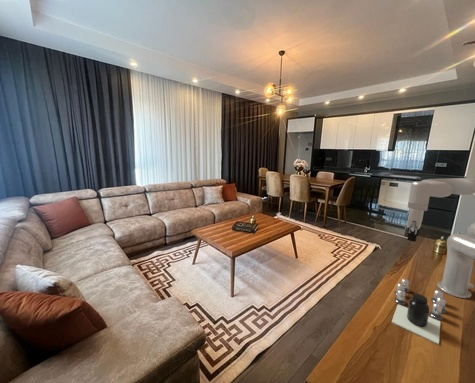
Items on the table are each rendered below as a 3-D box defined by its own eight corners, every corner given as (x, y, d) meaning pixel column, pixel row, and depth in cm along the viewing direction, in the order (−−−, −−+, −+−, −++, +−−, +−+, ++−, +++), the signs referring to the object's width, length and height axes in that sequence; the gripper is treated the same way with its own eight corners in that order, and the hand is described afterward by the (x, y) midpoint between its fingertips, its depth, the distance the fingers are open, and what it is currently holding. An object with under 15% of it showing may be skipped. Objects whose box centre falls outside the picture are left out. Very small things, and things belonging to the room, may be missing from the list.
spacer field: (397, 285, 115) (398, 275, 114) (446, 303, 101) (448, 292, 100) (391, 300, 103) (392, 290, 102) (445, 323, 89) (447, 311, 88)
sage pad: (397, 305, 100) (397, 304, 100) (440, 322, 90) (440, 321, 89) (391, 322, 90) (391, 321, 90) (438, 344, 79) (438, 343, 79)
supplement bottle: (421, 317, 92) (425, 293, 90) (430, 329, 86) (435, 304, 83) (403, 313, 94) (407, 290, 92) (410, 325, 88) (414, 300, 86)
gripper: (410, 201, 111) (406, 231, 114) (405, 208, 99) (400, 240, 102) (429, 204, 106) (424, 235, 109) (426, 210, 94) (420, 245, 97)
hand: (412, 237), depth 106 cm, fingers open, 9 cm apart
